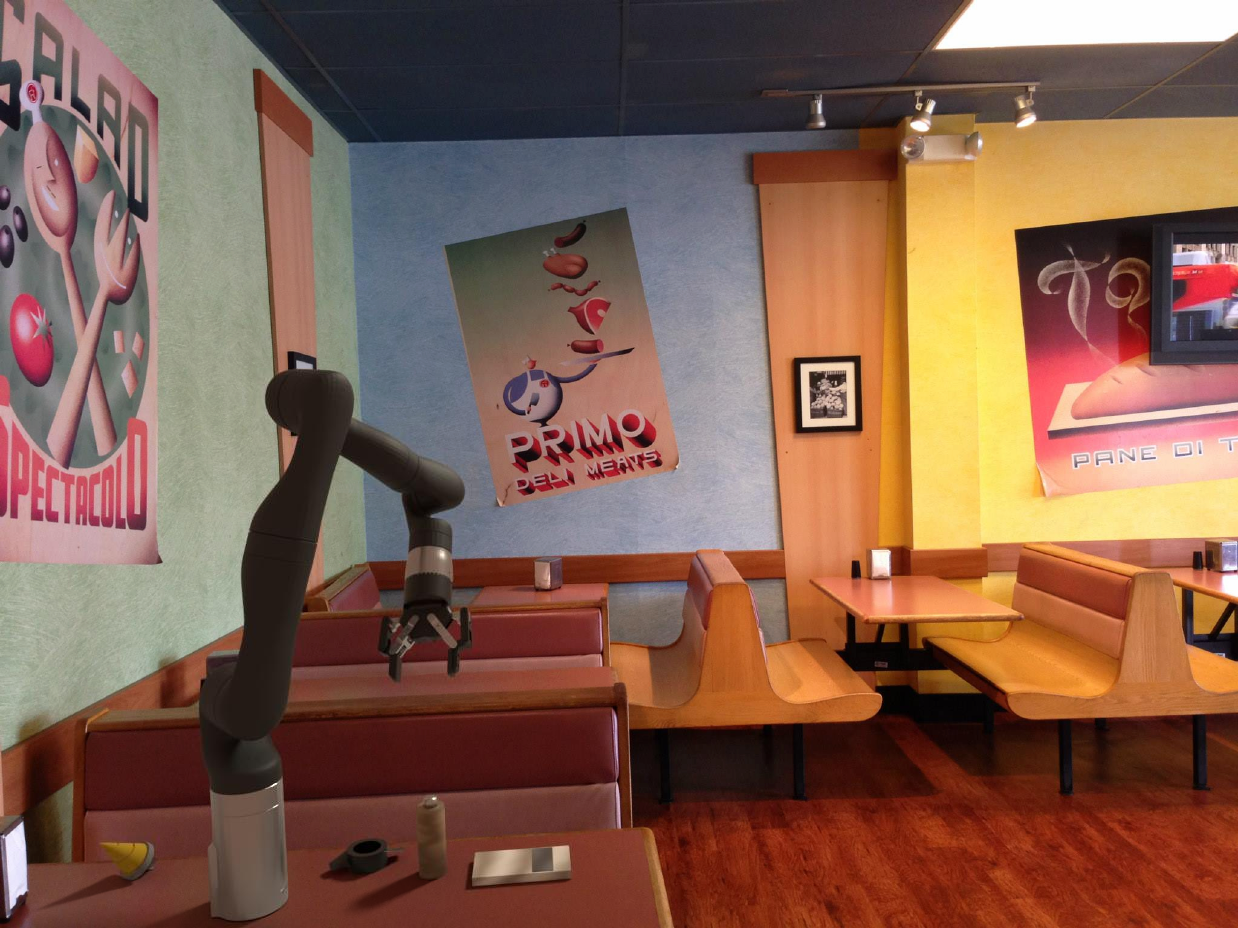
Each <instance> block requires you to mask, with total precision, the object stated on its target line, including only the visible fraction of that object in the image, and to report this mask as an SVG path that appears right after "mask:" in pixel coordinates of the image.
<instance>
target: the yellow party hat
mask: <svg viewBox="0 0 1238 928" xmlns="http://www.w3.org/2000/svg"><path fill="white" fill-rule="evenodd" d="M99 845H100V846H101V848H103V850H104V851H105V853H106V854H107V855H108V857H110V859H111V861H112V862H113V863H114V864H115V865H116V867H117V868H118V869H119V875H120V877H122V879H125V880H127V881H134V880H136V879H138V878H139V877H140V876H141V875H143V874H144V873H145V872H146V870H149V871H150V870H154V869H155V868H154V867H153V866H154V865H155V864H156V863H157V862H158V860H159V859H158V858H156V857H154V855H155V854H154V853H155V848H154V847H155V846H154V845H153V844H152V843H150V842H148V841H146V840H141V841H139V842H136V843H135V842H134V843H133V842H132V843H131V842H99Z"/></svg>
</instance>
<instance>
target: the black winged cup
mask: <svg viewBox="0 0 1238 928" xmlns="http://www.w3.org/2000/svg"><path fill="white" fill-rule="evenodd" d="M404 850H406V847H404V846H399V847H394V848H388V842H387V841H385V839H382V838H378V837H370V838H363V839H359V840H357V841H354V842H352V843H351V844H350V845H348V847H347V848H346V849H345V850H344V851H343V852H342V853H340V854H339V855H337V856H336V857H335V858H334V859H333V860H331V861H330V862H328V866H329V869H330V871H335V870H338V869H341V868H345V867H347V870H348V871H349V872H350V873H352V874H353V875H354V874H355V875H369V874H373V873H377V872H379V871H381V870H383V869H385V868H386V867H387V866H388V863H389V862H388V861H389V860H388V856H389V855H388V853H398V852H400V851H404Z"/></svg>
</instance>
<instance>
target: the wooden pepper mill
mask: <svg viewBox="0 0 1238 928" xmlns="http://www.w3.org/2000/svg"><path fill="white" fill-rule="evenodd" d="M415 807H416V831H417V833H416V834H417V858H418V862H417V863H418V876H419V878H421V879H422V880H428V881H429V880H436V879H441V878H442V877H445V876H446V874H447V872H448V868H447V866H448V865H447V841H446V840H447V839H446V838H447V837H446V812H445V803H444V801H442V800H440V799H438V796H437V795H436V794H427V795H425V796H424V797H422V801H421V802H419V803H418V804H417V805H416V806H415Z"/></svg>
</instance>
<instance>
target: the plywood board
mask: <svg viewBox="0 0 1238 928" xmlns="http://www.w3.org/2000/svg"><path fill="white" fill-rule="evenodd" d="M473 859H474V861H473V869H472V876H471V881H472V882H471V885H472V887H478V886H481V887H482V886H490V885H505V884H517V883H531V882H543V881H554V880H555V881H556V880H568V879H572V867H571V865H572V863H571V856H570V845H559V846H545V847H543V846H542V847H531V848H519V849H503V850H490V851H479V852H478V851H477V852H475V853H474V858H473Z"/></svg>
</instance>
